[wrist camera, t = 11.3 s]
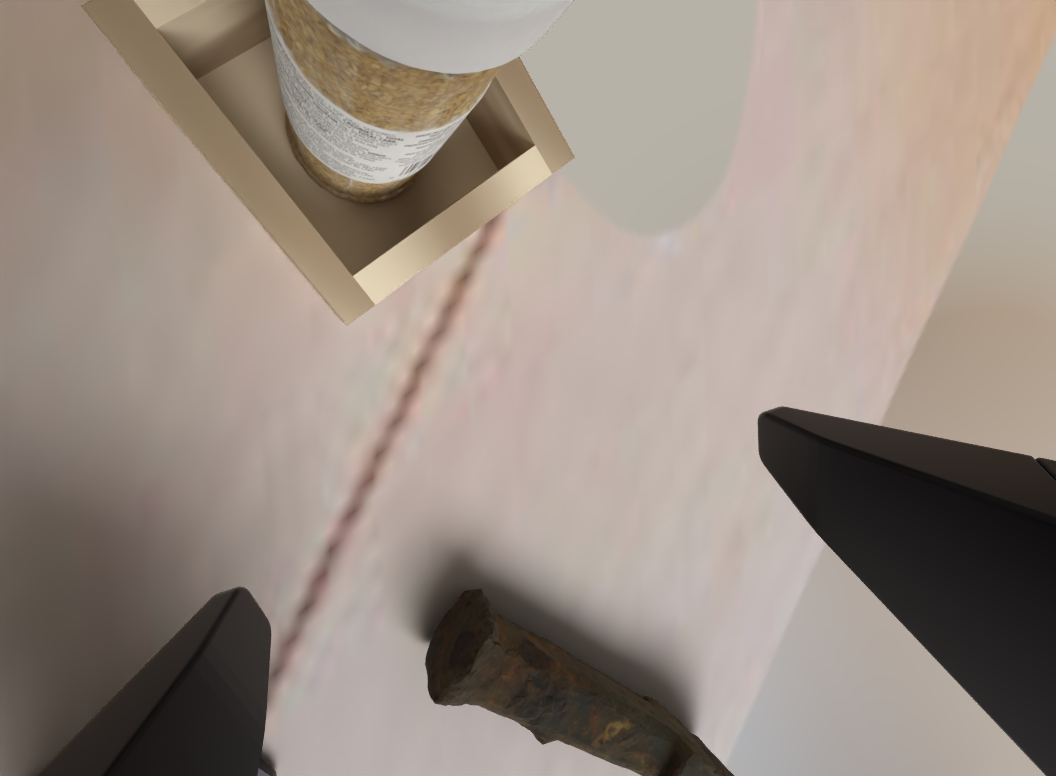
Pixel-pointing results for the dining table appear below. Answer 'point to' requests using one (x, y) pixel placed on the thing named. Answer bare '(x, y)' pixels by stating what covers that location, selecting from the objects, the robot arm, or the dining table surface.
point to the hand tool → (556, 694)
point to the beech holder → (281, 182)
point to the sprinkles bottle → (390, 80)
